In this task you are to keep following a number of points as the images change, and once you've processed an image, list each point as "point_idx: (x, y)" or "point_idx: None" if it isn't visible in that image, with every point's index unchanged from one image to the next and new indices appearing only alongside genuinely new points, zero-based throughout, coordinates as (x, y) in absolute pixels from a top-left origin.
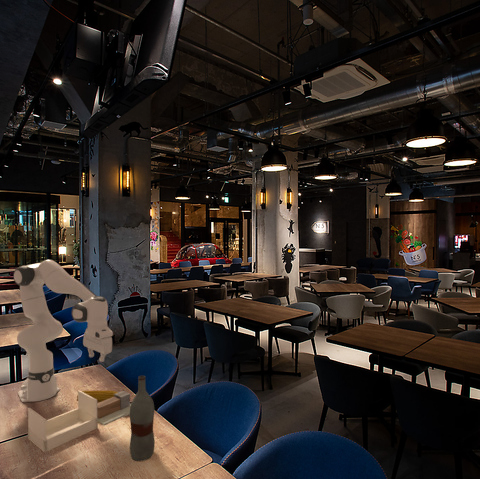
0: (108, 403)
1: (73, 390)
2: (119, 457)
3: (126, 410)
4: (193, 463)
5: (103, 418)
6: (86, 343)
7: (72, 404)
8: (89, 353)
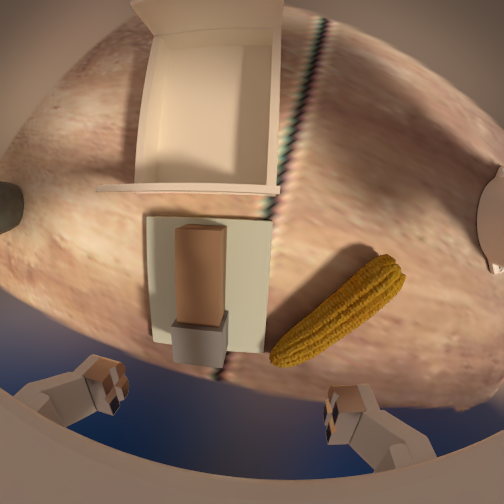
0: (180, 275)
1: (461, 297)
2: (29, 168)
3: (165, 312)
4: None
5: None
6: (475, 497)
7: (391, 240)
8: (368, 410)
